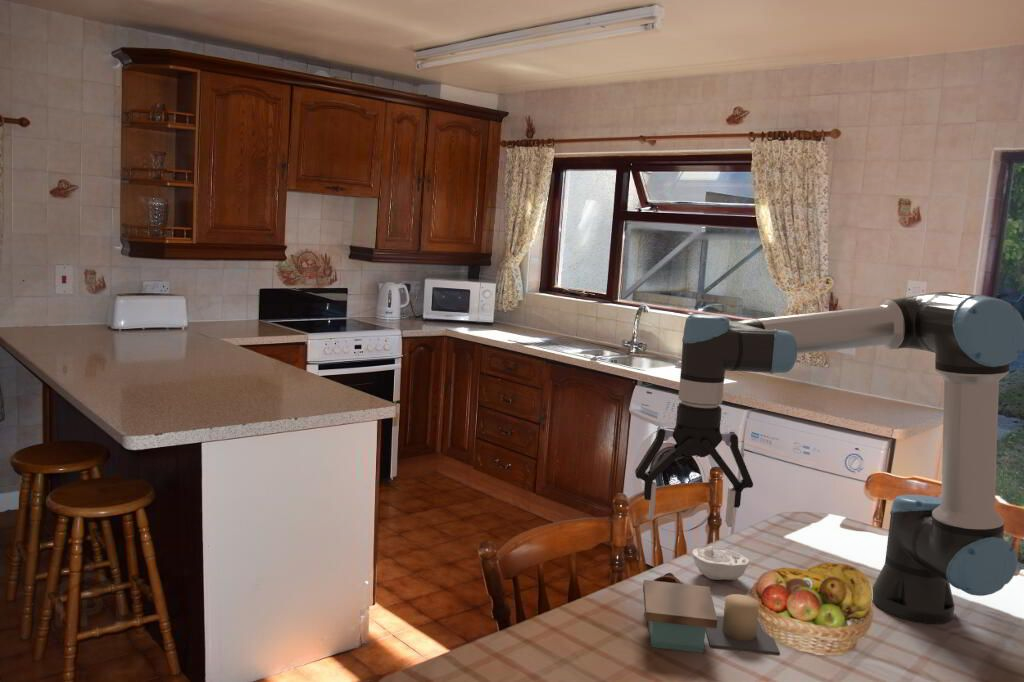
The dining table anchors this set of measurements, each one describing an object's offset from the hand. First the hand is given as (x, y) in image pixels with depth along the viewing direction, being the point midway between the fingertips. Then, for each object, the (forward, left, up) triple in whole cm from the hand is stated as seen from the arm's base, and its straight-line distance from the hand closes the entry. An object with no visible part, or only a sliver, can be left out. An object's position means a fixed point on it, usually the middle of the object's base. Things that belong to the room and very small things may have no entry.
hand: (689, 521), depth 144 cm
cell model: (-11, -29, -22) cm, 38 cm away
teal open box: (+1, +1, -22) cm, 22 cm away
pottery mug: (+1, -10, -22) cm, 24 cm away
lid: (+1, +1, -16) cm, 16 cm away
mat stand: (-11, -3, -22) cm, 24 cm away
